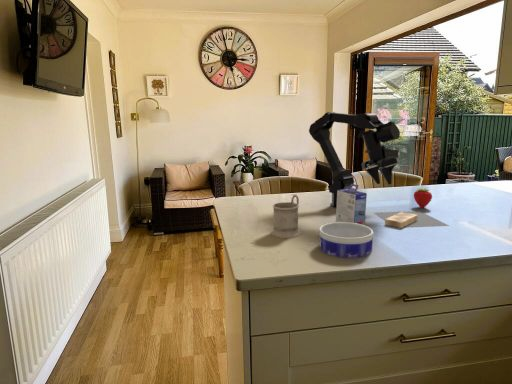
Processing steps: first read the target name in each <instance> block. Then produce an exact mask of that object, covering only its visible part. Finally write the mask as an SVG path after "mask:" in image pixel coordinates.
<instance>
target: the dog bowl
mask: <svg viewBox="0 0 512 384" xmlns="http://www.w3.org/2000/svg"><path fill="white" fill-rule="evenodd" d="M318 233H319V235H318V237H319V239H318V243H319V245H318V246H319V249H320V251H321V252H322V253H324V254H326V255H329V256H332V257H335V258H343V259H357V258H363V257H367V256H369V255H370V254H372V252H373V244H374V243H373V242H374V230H373V229H372V228H371V227H369V226H367V225H361V224H357V223H349V222H336V221H335V222H328V223H325V224H322V225H321V226H320V227H319V229H318Z"/></svg>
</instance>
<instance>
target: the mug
mask: <svg viewBox="0 0 512 384" xmlns="http://www.w3.org/2000/svg"><path fill="white" fill-rule="evenodd" d="M291 196H292V197H291V201H290V202H287V201H286V202H285V201H283V202H276V203H273V204H272V209H273V228H272V230H271V232H270V234H271V236H273V237H276V238H281V239H291V238H297V237H299V236H300V235H301V234H302V232H301V231H300V230H299V206H300V204H299V201H300V200H299V197H298V194H297V193H296V194H295V193H293V194H291ZM295 198H296V203H295V202H294V199H295Z"/></svg>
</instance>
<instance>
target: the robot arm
mask: <svg viewBox="0 0 512 384" xmlns="http://www.w3.org/2000/svg"><path fill="white" fill-rule="evenodd" d="M334 123H340V124H349V125H351V126H352V125H353V126H355V127H357V128H358V129H361V130H360V132H359V134H358V135H357V138H363V142H364V146H365V149H366V150H364V152H365V154H367V156H368V159H367V160H364V161H362V163H361V168H362V170H364V171H365V172H366V174H368V175H369V176H370V177H371V178H372V180H373V181H374V182H375V183H376V184H377V185H379V184H381V179H380V178H381V177H380V174H381V176H382V177H383V178H384V180H385V182H386V184H387V185H392V180H393V169H394V168H395V167H396V166H397V164H398V163H399V162H398V159H399V154H400V151H399V149H394V148H392V149H390V147H386V146H385V145H382V143H383V144H384V143H388V142H392V141H395V140H396V141H397V140H399V139H400V136H401V132H400V129H399V127H398V125H396V123H395V121H393V120H392V121H388V122H387V123H383V122H382V121H381V120H380V119H379V117H378V115H377V114H376V113H359V114H352V113H351V114H350V113H341V112H336V111H327V112H325V113H324V114H323V115H322V116H321V117H320V118H317V119H316V120H315V121H314V122H312V123H311V124H310V126H309V129H308V133H309V135H310V137H312V139H313V140H314V141H315V142H316V143H318V145H319V146H320V149H321V151H322V153H323V155H324V157H325V159H326V162H327V164H328V165H329V168H330V170H331V173H332V176H331V177H332V178H331V181H332V183H331V184H330V185H329V186H328V192H329V194H331V203H330V205H331V206H332V207H333V208H335V209H337V190H342V189H349V188H350V186H351V184H355V179H354V178H355V176H354V175H353V173H352V170H351V169H350V168H349V169H346V168H345V167H344V166H343V164H342V162H341V159H340V158H339V156H338V153H337V151H336V149H335V147H334V145H333V143H332V141H331V138H330V136H331V131H330V129H332V128H333V126H334ZM367 129H368V130H367ZM351 188H354V186H352V187H351Z"/></svg>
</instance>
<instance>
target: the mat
mask: <svg viewBox="0 0 512 384" xmlns="http://www.w3.org/2000/svg"><path fill="white" fill-rule="evenodd" d="M400 212H401V211H384V212H383V211H382V212H379V211H378V212H373V214H374V215H376V216H377V217H379V218H380V219H382V220H383V221H385V219H387V218H389V217H391V216H394V215H396V214H398V213H400ZM403 212H404V213H410V214H416V215H418V219H417V221H415V222H413V223H411V224H409V225H407V226H405V227H403V228H424V227H426V228H428V227H429V228H430V227H432V228H433V227H449V226H450V225H449V224H447V223H445V222H444V221H441V220H438V219H437V218H434V217H433V216H431V215H428V214H427V213H425V212H423V211H422V210H409V211H403ZM394 228H395V229H400V228H399V227H394ZM403 228H402V229H403Z"/></svg>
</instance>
